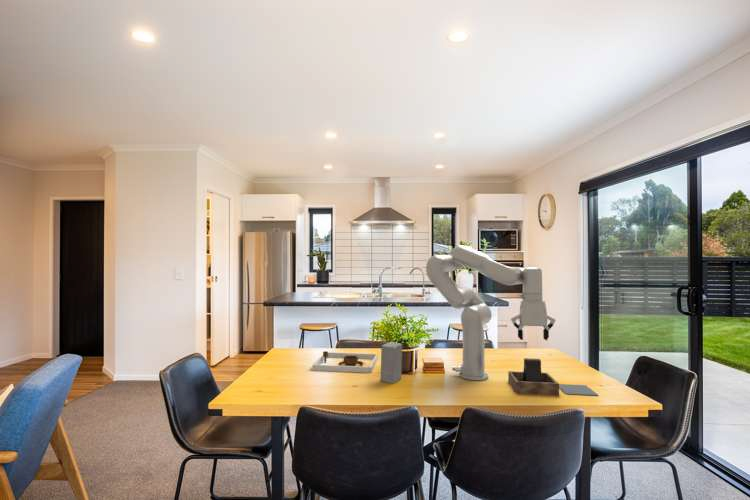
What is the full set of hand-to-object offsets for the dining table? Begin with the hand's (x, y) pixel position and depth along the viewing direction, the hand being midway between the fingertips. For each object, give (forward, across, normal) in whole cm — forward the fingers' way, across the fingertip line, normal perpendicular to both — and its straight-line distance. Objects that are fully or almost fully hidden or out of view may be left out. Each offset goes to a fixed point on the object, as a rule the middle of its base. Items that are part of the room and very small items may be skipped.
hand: (533, 339), depth 163 cm
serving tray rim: (+19, -82, +25) cm, 88 cm away
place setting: (+20, -83, +26) cm, 89 cm away
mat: (+20, +16, 0) cm, 26 cm away
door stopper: (+20, 0, 0) cm, 20 cm away
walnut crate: (+20, 0, 0) cm, 20 cm away
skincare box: (+19, -58, +2) cm, 62 cm away
